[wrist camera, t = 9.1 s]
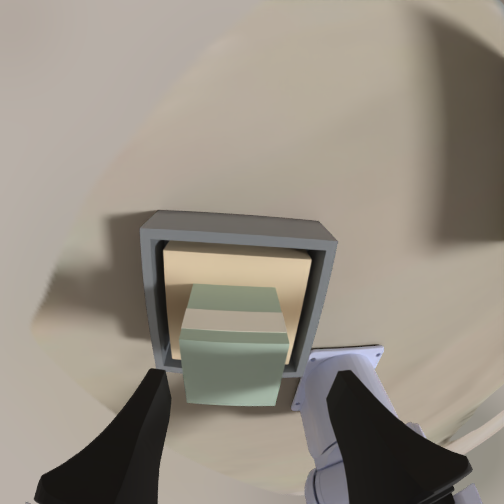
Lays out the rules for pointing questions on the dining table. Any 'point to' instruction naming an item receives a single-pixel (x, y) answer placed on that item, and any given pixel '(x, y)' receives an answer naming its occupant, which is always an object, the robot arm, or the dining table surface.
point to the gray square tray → (241, 233)
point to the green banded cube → (233, 345)
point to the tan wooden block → (233, 278)
